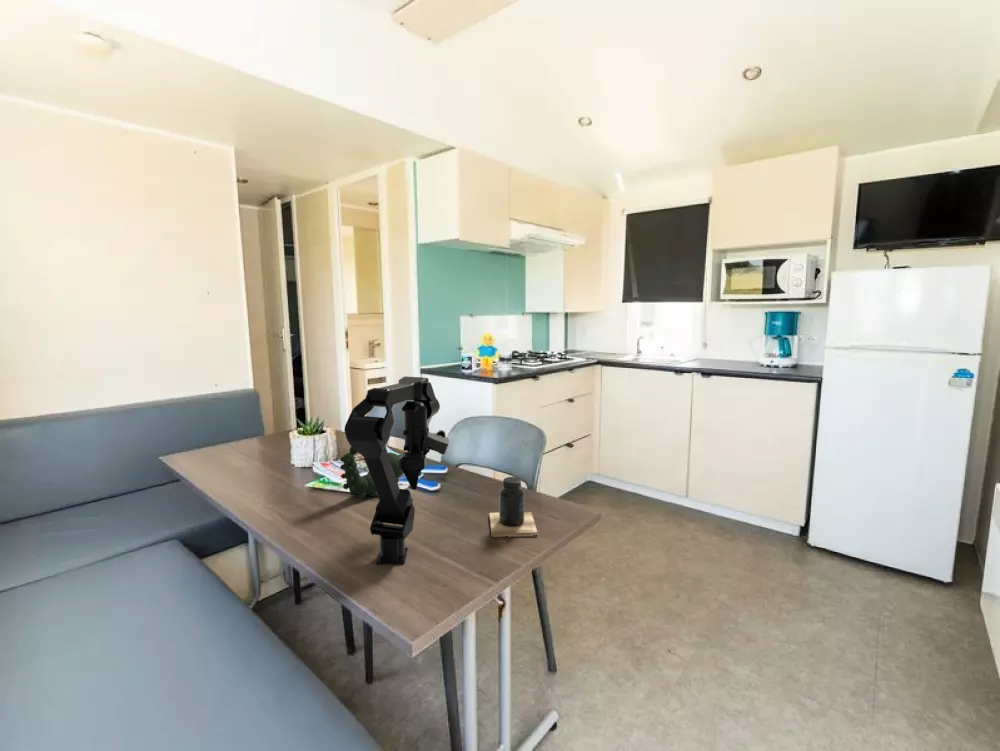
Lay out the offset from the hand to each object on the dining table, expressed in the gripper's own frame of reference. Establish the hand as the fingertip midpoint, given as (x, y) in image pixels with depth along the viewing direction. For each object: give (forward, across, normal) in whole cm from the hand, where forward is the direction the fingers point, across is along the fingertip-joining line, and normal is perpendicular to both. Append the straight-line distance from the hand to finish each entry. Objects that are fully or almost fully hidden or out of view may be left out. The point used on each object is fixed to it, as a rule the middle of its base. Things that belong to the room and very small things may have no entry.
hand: (416, 482), depth 124 cm
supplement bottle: (+12, +1, -26) cm, 28 cm away
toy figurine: (+14, +26, +16) cm, 33 cm away
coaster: (+13, +1, -26) cm, 29 cm away
